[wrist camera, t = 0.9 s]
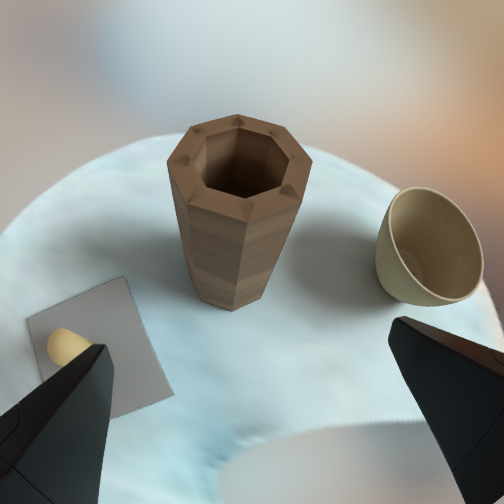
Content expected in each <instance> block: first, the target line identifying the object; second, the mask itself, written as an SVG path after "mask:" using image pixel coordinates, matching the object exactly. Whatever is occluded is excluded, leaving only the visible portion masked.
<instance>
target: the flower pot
mask: <svg viewBox="0 0 504 504" xmlns="http://www.w3.org/2000/svg"><path fill="white" fill-rule="evenodd" d="M375 263H376V271H377V276H378V279H379V282H380V284H381V286H382V287H383V288H384V290H385V291H386V292H387V293H388V294H389V295H391V296H392V297H394V298H396V299H397V300H400V301H402V302H405V303H408V304H411V305H416V306H426V307H431V306H443V305H448V304H453V303H456V302H459V301H462V300H465V299H467V298H469V297H470V296H471V295H472V294H473V293H474V292H475V291H476V290H477V288H478V286H479V284H480V282H481V279H482V274H483V266H484V264H483V253H482V248H481V245H480V241H479V239H478V236H477V234H476V231H475V230H474V228H473V226H472V224H471V222H470V221H469V219H468V218H467V217H466V215H465V214H464V213H463V211H462V210H461V209H460V208H459V207H458V206H457V205H456V204H455V203H454V202H453V201H451V200H450V199H449V198H447V197H446V196H444V195H443V194H441V193H439V192H437V191H435V190H433V189H430V188H426V187H419V186H414V187H408V188H405V189H403V190H401V191H400V192H399V193H398V194H396V196H395V197H394V198H393V200H392V201H391V203H390V205H389V207H388V209H387V211H386V214H385V216H384V219H383V221H382V224H381V227H380V230H379V234H378V239H377V244H376V254H375ZM412 273H413V274H412Z"/></svg>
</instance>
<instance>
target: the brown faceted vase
mask: <svg viewBox="0 0 504 504" xmlns="http://www.w3.org/2000/svg"><path fill="white" fill-rule="evenodd" d="M312 162H313V161H312V159H311V158H310V157H309V156H308V154H307V153H306V152H305V151H304V150H303V148H302V147H301V146H300V145H299V144H298V142H297V141H296V140H295V139H294V138H293V136H292V135H291V134H290V133H289V132H288V131H287V129H286V128H285V127H282V126H279V125H276V124H272V123H269V122H265V121H261V120H257V119H254V118H250V117H246V116H242V115H238V114H236V115H231V116H227V117H224V118H220V119H216V120H212V121H208V122H205V123H201V124H198V125H194V126H191V127H190V128H189V130H188V131H187V132H186V134H185V135H184V136H183V138H182V139H181V141H180V142H179V144H178V145H177V147H176V148H175V150H174V151H173V153H172V154H171V156H170V157H169V159H168V160H167V167H168V173H169V178H170V184H171V189H172V195H173V200H174V205H175V210H176V216H177V221H178V225H179V230H180V235H181V240H182V244H183V249H184V254H185V258H186V263H187V267H188V271H189V275H190V277H191V279H192V281H193V283H194V286H195V288H196V290H197V292H198V294H199V296H200V298H201V300H202V301H203V302H206V303H209V304H212V305H214V306H217V307H220V308H223V309H226V310H229V311H234V310H237V309H239V308H241V307H243V306H245V305H247V304H249V303H251V302H254V301H256V300H258V299H260V298H261V296H262V294H263V292H264V289H265V287H266V285H267V282H268V280H269V278H270V276H271V273H272V271H273V269H274V266H275V264H276V262H277V259H278V257H279V255H280V253H281V250H282V248H283V246H284V243H285V241H286V239H287V236H288V234H289V232H290V229H291V227H292V224H293V222H294V220H295V217H296V215H297V213H298V210H299V208H300V205H301V203H302V200H303V196H304V192H305V188H306V185H307V181H308V177H309V173H310V169H311V165H312Z"/></svg>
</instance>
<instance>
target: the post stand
mask: <svg viewBox="0 0 504 504" xmlns="http://www.w3.org/2000/svg"><path fill="white" fill-rule="evenodd" d="M27 321H28V326H29V330H30V335H31V339H32V343H33V347H34V351H35V355H36V358H37V362H38V366H39V369H40V372H41V376H42V379H43V382H45V381H46V380H47V379H48V378H50V377H51V376H52V375H53V374H55V373H56V372H57V371H59V370H60V369H61V368H62V367H64V366H65V365H66V364H68V363H69V362H70V361H71V360H73V359H74V358H75V357H77V356H78V355H79V354H80V353H82V352H83V351H84V350H86V349H87V348H88V347H89V346H91V345H92V344H105V345H107V347H108V349H109V352H110V355H111V358H112V361H113V364H114V381H113V392H112V404H111V415H110V419H113V418H116V417H119V416H121V415H124V414H127V413H130V412H132V411H135V410H138V409H140V408H143V407H146V406H148V405H151V404H153V403H156V402H159V401H161V400H163V399H166V398H168V397H171V396H173V395H174V393H173V391H172V389H171V387H170V385H169V383H168V380H167V378H166V376H165V374H164V372H163V370H162V368H161V365H160V363H159V361H158V359H157V356H156V354H155V352H154V350H153V347H152V345H151V343H150V340H149V338H148V335H147V333H146V330H145V328H144V325H143V323H142V320H141V318H140V315H139V313H138V310H137V307H136V305H135V302H134V299H133V297H132V294H131V291H130V288H129V286H128V283H127V280H126V278H125V277H124V276H121V277H119V278H117V279H114V280H112V281H110V282H108V283H105V284H103V285H101V286H98V287H96V288H94V289H92V290H89V291H87V292H85V293H83V294H80V295H78V296H76V297H74V298H71V299H69V300H67V301H65V302H63V303H60V304H58V305H56V306H54V307H52V308H49V309H47V310H45V311H43V312H41V313H39V314H36V315H34V316H32V317H30V318H28V319H27Z"/></svg>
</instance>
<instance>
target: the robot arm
mask: <svg viewBox="0 0 504 504" xmlns="http://www.w3.org/2000/svg"><path fill="white" fill-rule="evenodd" d="M388 343H389V346H390V349H391V351H392V353H393V355H394V358H395V360H396V362H397V364H398V367H399V369H400V371H401V374H402V376H403V378H404V380H405V382H406V384H407V386H408V388H409V389H410V391H411V393H412V395H413V397H414V399H415V400H416V402H417V404H418V406H419V408H420V410H421V412H422V413H423V415H424V417H425V419H426V421H427V423H428V425H429V427H430V429H431V431H432V433H433V435H434V437H435V438H436V440H437V443H438V445H439V447H440V449H441V451H442V453H443V455H444V457H445V459H446V461H447V463H448V465H449V467H450V469H451V472H452V473H453V476H454V478H455V481H456V483H457V485H458V487H459V490H460V492H461V494H462V497H463V499H464V501H465V504H493V503H495V502H496V501H497V500H499V499H500V498H501V497H502V496H503V495H504V353H502V352H499V351H497V350H494V349H491V348H490V349H489V348H488V347H486V346H483V345H481V344H478V343H475V342H473V341H470V340H467V339H465V338H462V337H459V336H457V335H454V334H451V333H449V332H446V331H443V330H441V329H438V328H436V327H433V326H430V325H428V324H425V323H422V322H420V321H417V320H414V319H412V318H409V317H407V316H402V317H397V318H395V319H394V320H393V322H392V326H391V330H390V333H389V337H388ZM113 381H114V364H113V361H112V358H111V355H110V352H109V349H108V347H107V345H105V344H92V345H91V346H89V347H88V348H87V349H86V350H84V351H83V352H82V353H80V354H79V355H78V356H77V357H75V358H74V359H73V360H71V361H70V362H69V363H68V364H66V365H65V366H64V367H62V368H61V369H60V370H59V371H57V372H56V373H55V374H53V375H52V376H51V377H50V378H48V379H47V380H46V381H45V382H43V383H42V384H41V385H39V386H38V387H37V388H36V389H34V390H33V391H32V392H31V393H29V394H28V395H27V396H26V397H24V398H23V399H22V400H21V401H19V402H18V404H16V405H14V406H13V407H12V408H11V409H9V410H8V411H7V412H6V413H4V414H3V415H2V416H0V504H98V496H99V486H100V478H101V470H102V463H103V456H104V450H105V444H106V438H107V432H108V426H109V421H110V415H111V404H112V392H113Z"/></svg>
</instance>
